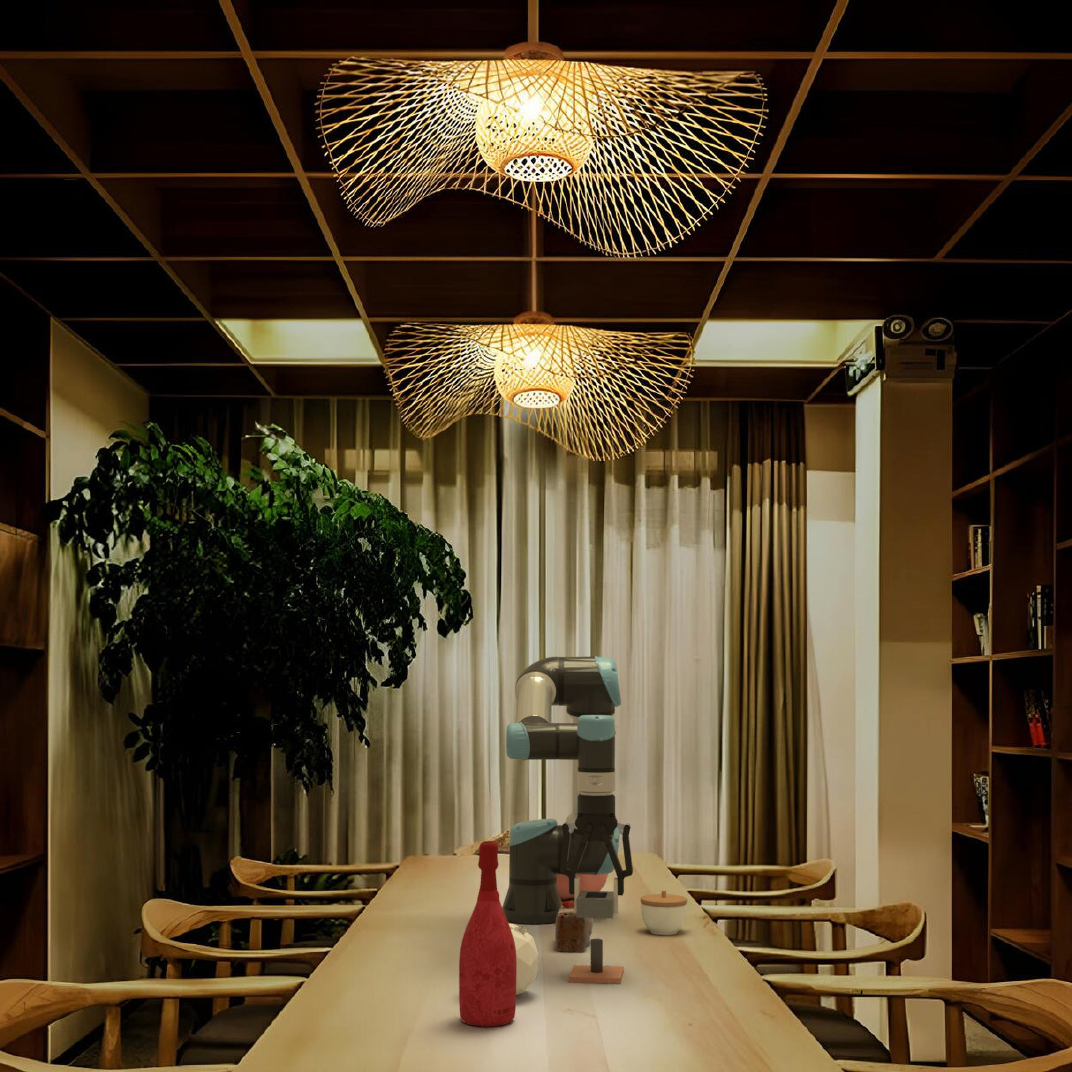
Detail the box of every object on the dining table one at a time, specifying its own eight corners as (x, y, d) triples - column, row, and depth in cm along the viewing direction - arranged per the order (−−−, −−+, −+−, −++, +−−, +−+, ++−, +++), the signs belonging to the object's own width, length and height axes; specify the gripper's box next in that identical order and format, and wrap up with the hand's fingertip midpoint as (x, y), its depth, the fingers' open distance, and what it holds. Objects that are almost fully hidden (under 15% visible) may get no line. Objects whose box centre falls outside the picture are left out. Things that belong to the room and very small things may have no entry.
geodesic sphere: (565, 958, 235) (522, 897, 238) (550, 975, 222) (504, 910, 225) (506, 1003, 237) (464, 941, 240) (487, 1022, 223) (443, 956, 226)
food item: (557, 939, 280) (557, 894, 281) (593, 940, 279) (593, 894, 281) (553, 952, 267) (553, 905, 268) (591, 953, 266) (591, 905, 267)
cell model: (612, 905, 322) (611, 860, 323) (534, 904, 322) (534, 860, 323) (609, 893, 338) (609, 851, 340) (535, 893, 339) (535, 850, 340)
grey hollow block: (581, 908, 251) (581, 890, 252) (615, 909, 250) (615, 891, 251) (576, 917, 241) (576, 898, 242) (612, 918, 241) (612, 899, 241)
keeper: (573, 970, 250) (573, 934, 251) (623, 971, 249) (623, 935, 250) (568, 982, 240) (568, 944, 241) (620, 983, 239) (620, 946, 240)
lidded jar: (685, 938, 281) (685, 895, 282) (637, 936, 283) (637, 893, 284) (689, 929, 292) (688, 887, 293) (643, 926, 294) (643, 886, 295)
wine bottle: (481, 1010, 220) (483, 836, 223) (527, 1019, 214) (528, 840, 218) (446, 1022, 212) (448, 842, 215) (493, 1032, 206) (494, 846, 210)
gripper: (544, 794, 246) (543, 914, 244) (645, 795, 244) (646, 916, 241) (548, 790, 254) (548, 907, 251) (647, 792, 251) (648, 909, 249)
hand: (596, 911), depth 246 cm, fingers closed on grey hollow block, 7 cm apart
